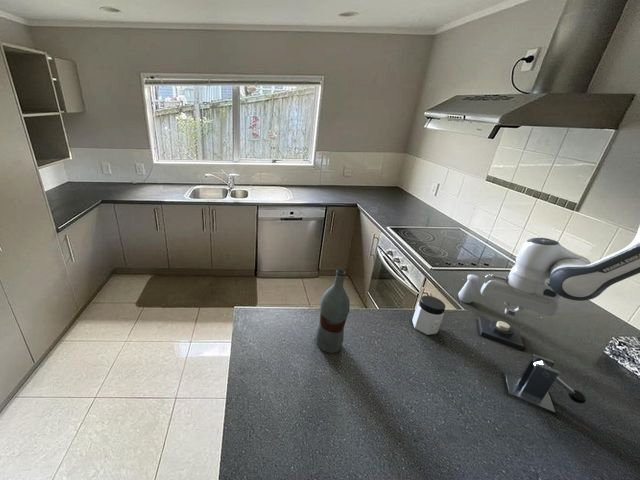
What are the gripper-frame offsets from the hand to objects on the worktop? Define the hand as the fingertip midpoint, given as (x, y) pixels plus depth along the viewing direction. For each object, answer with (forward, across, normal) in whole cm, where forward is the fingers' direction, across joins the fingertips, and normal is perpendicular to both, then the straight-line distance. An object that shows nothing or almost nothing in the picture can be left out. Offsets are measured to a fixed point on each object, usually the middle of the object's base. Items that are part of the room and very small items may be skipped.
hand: (509, 314), depth 101 cm
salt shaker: (+10, -10, +18) cm, 23 cm away
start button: (+7, 0, 0) cm, 7 cm away
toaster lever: (+3, +7, -26) cm, 27 cm away
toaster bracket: (+10, +4, -26) cm, 28 cm away
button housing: (+10, 0, 0) cm, 10 cm away
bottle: (+10, -52, -42) cm, 68 cm away
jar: (+10, -24, -12) cm, 29 cm away
